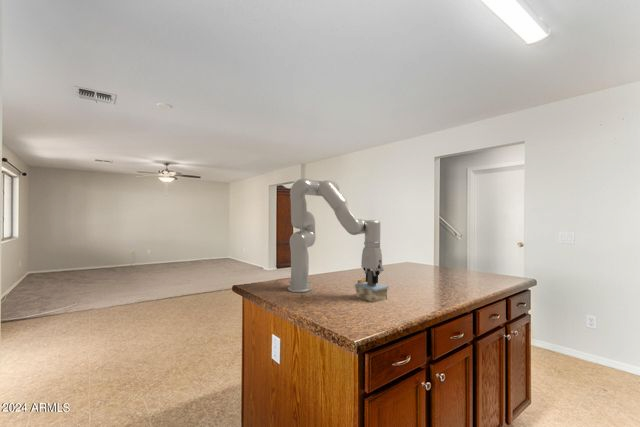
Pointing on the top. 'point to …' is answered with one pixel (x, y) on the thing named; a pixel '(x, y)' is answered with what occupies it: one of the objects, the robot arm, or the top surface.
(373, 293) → the box
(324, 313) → the top surface
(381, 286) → the lid
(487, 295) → the top surface
